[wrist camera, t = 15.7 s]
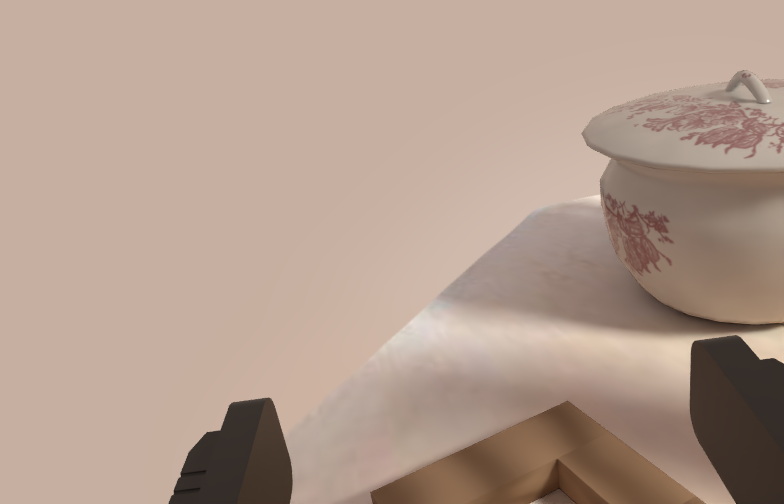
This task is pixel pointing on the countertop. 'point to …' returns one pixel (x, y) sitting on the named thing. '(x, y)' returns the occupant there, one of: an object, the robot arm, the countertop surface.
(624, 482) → the socket board
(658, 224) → the chamber pot
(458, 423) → the countertop surface
